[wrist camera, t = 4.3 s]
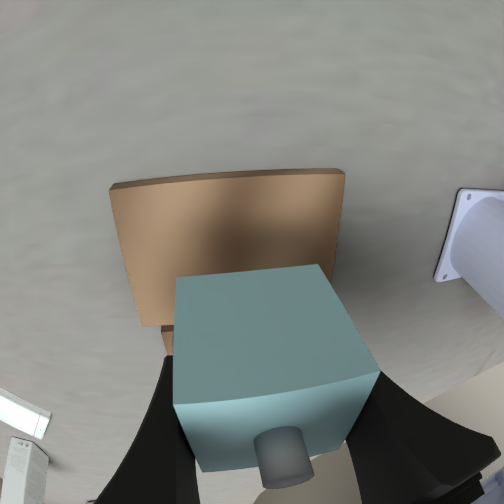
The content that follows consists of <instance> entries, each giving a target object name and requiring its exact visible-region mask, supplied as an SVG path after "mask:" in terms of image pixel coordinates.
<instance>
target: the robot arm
mask: <svg viewBox="0 0 504 504" xmlns="http://www.w3.org/2000/svg"><path fill="white" fill-rule="evenodd" d="M467 195H468V196H467ZM461 277H462V278H463V279H464V280H465V281H466V282H467V283H468V284H469V285H470V286H471V287H472V288H473V289H474V290H475V291H476V292H477V293H478V294H479V295H480V296H481V297H482V298H483V299H484V300H485V301H486V302H487V303H488V304H489V306H490V307H491V308H492V309H493V310H494V311H495V312H496V313H497V314H498V315H499V316H500V318H501V319H502V320H503V321H504V191H496V190H480V189H461V190H460V191H459V193H458V196H457V200H456V204H455V208H454V212H453V216H452V220H451V224H450V227H449V231H448V235H447V238H446V241H445V245H444V248H443V251H442V254H441V258H440V261H439V264H438V267H437V270H436V273H435V276H434V279H435V280H436V282H442V281H447V280H452V279H456V278H461ZM345 440H346V442H347V445H348V448H349V451H350V455H351V458H352V462H353V465H354V469H355V473H356V477H357V481H358V485H359V490H360V495H361V500H362V504H504V467H502V468H501V469H499V470H497V471H496V472H495V473H493V474H492V475H490V476H489V477H488V478H486V479H485V480H484V481H482V482H481V483H480V481H479V480H480V479H481V478H482V475H481V473H480V471H481V470H483V469H484V468H485V467H487V466H488V465H490V464H491V463H492V462H493V461H495V460H496V459H497V458H499V457H500V456H501V452H500V450H499V449H498V447H497V445H496V443H495V441H494V440H493V438H492V437H490V436H487V435H484V434H481V433H478V432H475V431H473V430H470V429H468V428H465V427H463V426H461V425H459V424H457V423H454V422H452V421H451V420H449V419H447V418H445V417H443V416H441V415H440V414H438V413H436V412H434V411H433V410H431V409H429V408H428V407H426V406H425V405H423V404H422V403H420V402H419V401H417V400H416V399H415V398H413V397H412V396H411V395H409V394H408V393H407V392H405V391H404V390H403V389H402V388H400V387H399V386H398V385H397V384H396V383H394V382H393V381H392V380H391V379H390V378H389V377H387V376H386V375H385V374H384V373H383V372H382V371H380V374H379V376H378V378H377V380H376V382H375V384H374V386H373V388H372V390H371V392H370V394H369V396H368V398H367V400H366V402H365V404H364V406H363V408H362V410H361V412H360V414H359V416H358V417H357V419H356V421H355V423H354V425H353V426H352V428H351V430H350V432H349V434H348V435H347V437H346V439H345ZM93 504H200V499H199V492H198V485H197V478H196V466H195V455H194V453H193V451H192V449H191V447H190V444H189V442H188V440H187V437H186V435H185V433H184V430H183V428H182V426H181V423H180V421H179V418H178V416H177V413H176V411H175V408H174V406H173V355H167V356H166V357H165V358H164V363H163V367H162V370H161V374H160V377H159V380H158V383H157V386H156V389H155V392H154V395H153V397H152V400H151V403H150V405H149V408H148V410H147V413H146V415H145V417H144V419H143V422H142V424H141V426H140V429H139V431H138V433H137V435H136V437H135V439H134V441H133V443H132V445H131V447H130V449H129V450H128V452H127V454H126V456H125V458H124V459H123V461H122V463H121V464H120V466H119V468H118V469H117V471H116V472H115V474H114V476H113V477H112V479H111V480H110V481H109V483H108V484H107V486H106V487H105V488H104V490H103V491H102V492H101V494H100V495H99V496H98V498H97V499H96V500H95V502H94V503H93Z"/></svg>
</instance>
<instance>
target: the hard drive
mask: <svg viewBox="0 0 504 504" xmlns="http://www.w3.org/2000/svg"><path fill="white" fill-rule="evenodd" d="M50 416H51V413H49V412H47V411H45V410H43V409H41V408H39V407H36V406H34V405H32V404H30V403H28V402H26V401H24V400H22V399H20V398H18V397H17V396H15V395H13V394H11V393H9V392H7V391H5V390H4V389H2V388H0V420H1V421H3V422H5V423H7V424H9V425H11V426H13V427H15V428H17V429H19V430H21V431H23V432H25V433H28V434H30V435H32V436H34V437H37V438H39V439H42V437H43V435H44V432H45V430H46V427H47V424H48V422H49V419H50Z"/></svg>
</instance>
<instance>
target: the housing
mask: <svg viewBox="0 0 504 504" xmlns="http://www.w3.org/2000/svg"><path fill="white" fill-rule="evenodd" d="M380 371H381V370H380V369H379V367H378V365H377V363H376V361H375V360H374V358H373V356H372V354H371V352H370V351H369V349H368V347H367V345H366V344H365V342H364V340H363V338H362V337H361V335H360V333H359V332H358V330H357V328H356V326H355V325H354V323H353V321H352V320H351V318H350V316H349V314H348V313H347V311H346V309H345V308H344V306H343V304H342V303H341V301H340V299H339V298H338V296H337V294H336V293H335V291H334V289H333V288H332V286H331V284H330V283H329V281H328V280H327V278H326V276H325V275H324V273H323V271H322V270H321V268H320V267H319V265H318V264H313V265H304V266H294V267H284V268H274V269H264V270H254V271H243V272H233V273H222V274H211V275H200V276H188V277H177V278H176V292H175V312H174V341H173V406H174V408H175V411H176V413H177V416H178V418H179V421H180V423H181V426H182V428H183V430H184V433H185V435H186V437H187V440H188V442H189V444H190V447H191V449H192V451H193V453H194V455H195V458H196V460H197V462H198V464H199V466H200V468H201V470H202V472H215V471H226V470H235V469H244V468H251V467H258V466H259V470H260V475H261V479H262V484H263V487H264V488H266V489H280V488H286V487H291V486H295V485H298V484H301V483H304V482H305V481H308V480H310V479H311V478H313V477H314V471H313V468H312V465H311V461H310V458H309V457H311V456H315V455H319V454H323V453H327V452H331V451H334V450H338V449H340V447H341V445H342V444H343V442H344V440H345V439H346V437H347V435H348V434H349V432H350V430H351V428H352V426H353V425H354V423H355V421H356V419H357V417H358V416H359V414H360V412H361V410H362V408H363V406H364V404H365V402H366V400H367V398H368V396H369V394H370V392H371V390H372V388H373V386H374V384H375V382H376V380H377V378H378V376H379V374H380Z"/></svg>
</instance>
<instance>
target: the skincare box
mask: <svg viewBox="0 0 504 504" xmlns="http://www.w3.org/2000/svg"><path fill="white" fill-rule="evenodd" d="M48 462H49V457H48V456H47V455H46V454H45V453H44V452H42V451H41V450H40V449H39V448H38V447H37V446H36V445H35V444H34V443H33V442H31V441H27V440H23V439H19V438H15V437H12V438H11V442H10V446H9V451H8V456H7V461H6V467H5V472H4V479H3V486H2V492H1V493H2V494H1V501H0V504H44V493H45V484H46V476H47V468H48Z"/></svg>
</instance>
